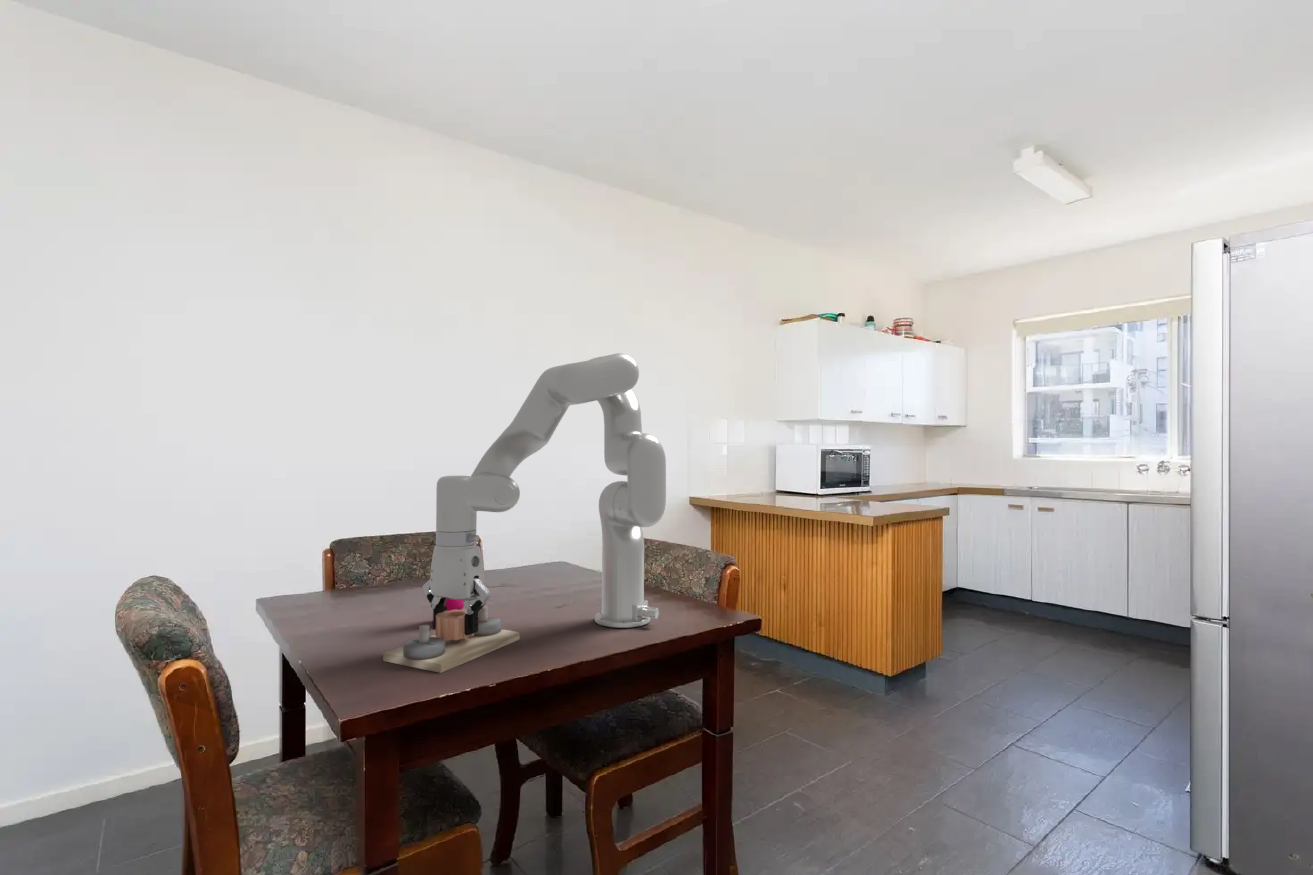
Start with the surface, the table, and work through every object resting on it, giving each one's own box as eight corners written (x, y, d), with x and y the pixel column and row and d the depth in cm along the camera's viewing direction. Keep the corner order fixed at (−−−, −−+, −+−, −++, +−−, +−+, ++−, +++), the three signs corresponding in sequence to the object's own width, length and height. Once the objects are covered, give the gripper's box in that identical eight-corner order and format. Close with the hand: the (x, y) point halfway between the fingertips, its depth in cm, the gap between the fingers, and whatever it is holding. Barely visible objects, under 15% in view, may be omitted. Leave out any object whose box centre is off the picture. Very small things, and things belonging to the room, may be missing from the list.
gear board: (521, 638, 134) (521, 606, 135) (438, 674, 114) (439, 636, 114) (468, 629, 141) (468, 599, 141) (380, 661, 120) (381, 626, 120)
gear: (482, 632, 129) (482, 611, 129) (456, 642, 122) (456, 620, 122) (454, 627, 132) (454, 607, 132) (427, 637, 125) (427, 616, 125)
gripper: (504, 539, 127) (503, 631, 127) (436, 534, 134) (435, 620, 134) (478, 545, 120) (477, 642, 120) (408, 538, 128) (407, 630, 128)
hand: (455, 630), depth 127 cm, fingers closed on gear, 7 cm apart
